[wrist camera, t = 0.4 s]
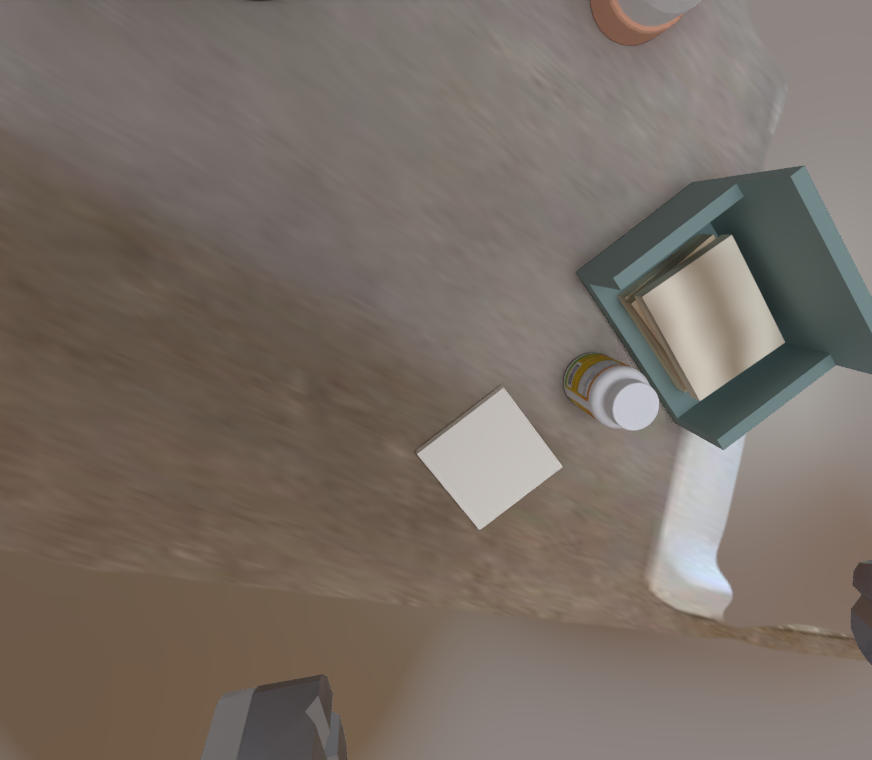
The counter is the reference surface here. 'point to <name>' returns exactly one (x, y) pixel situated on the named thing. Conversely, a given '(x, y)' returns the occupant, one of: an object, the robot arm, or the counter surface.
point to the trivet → (489, 457)
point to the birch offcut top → (710, 317)
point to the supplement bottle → (611, 392)
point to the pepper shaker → (638, 18)
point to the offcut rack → (776, 279)
